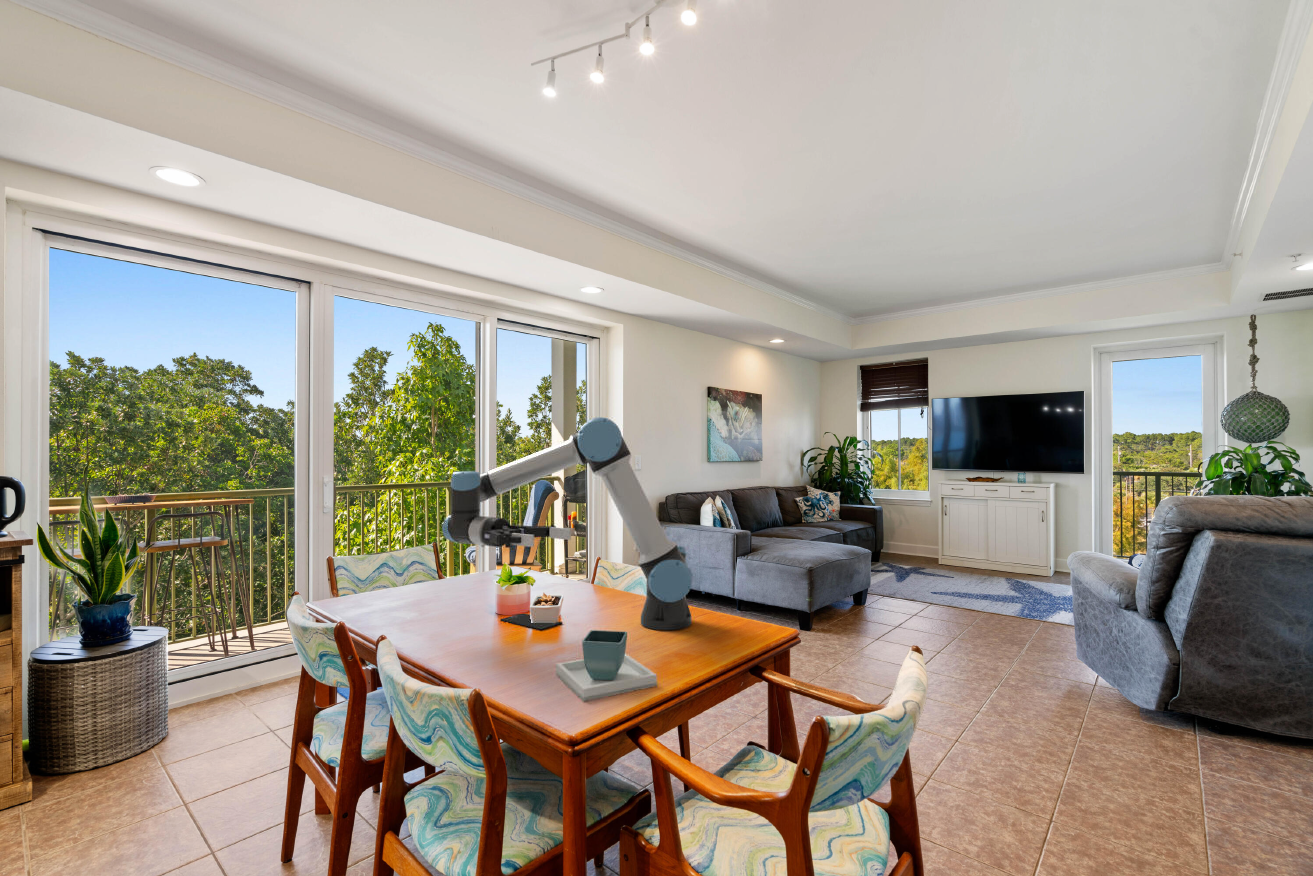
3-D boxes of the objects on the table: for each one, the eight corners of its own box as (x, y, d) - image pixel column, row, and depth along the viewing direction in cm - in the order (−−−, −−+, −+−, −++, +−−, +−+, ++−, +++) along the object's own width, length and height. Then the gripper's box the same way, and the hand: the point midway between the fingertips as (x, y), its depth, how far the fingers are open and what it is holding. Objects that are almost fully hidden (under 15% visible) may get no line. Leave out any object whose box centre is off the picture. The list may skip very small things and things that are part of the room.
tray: (623, 662, 147) (623, 652, 147) (656, 686, 132) (656, 674, 132) (556, 674, 139) (556, 663, 139) (583, 701, 124) (583, 689, 124)
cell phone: (521, 615, 191) (521, 612, 191) (563, 625, 180) (563, 622, 180) (499, 622, 184) (499, 619, 184) (541, 632, 173) (541, 629, 173)
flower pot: (627, 670, 140) (627, 630, 140) (621, 684, 131) (621, 642, 131) (590, 668, 141) (590, 629, 141) (581, 683, 132) (581, 641, 132)
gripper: (524, 540, 171) (583, 546, 160) (452, 552, 150) (515, 560, 139) (524, 513, 171) (583, 517, 160) (452, 522, 150) (515, 527, 139)
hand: (552, 537), depth 149 cm, fingers open, 13 cm apart
